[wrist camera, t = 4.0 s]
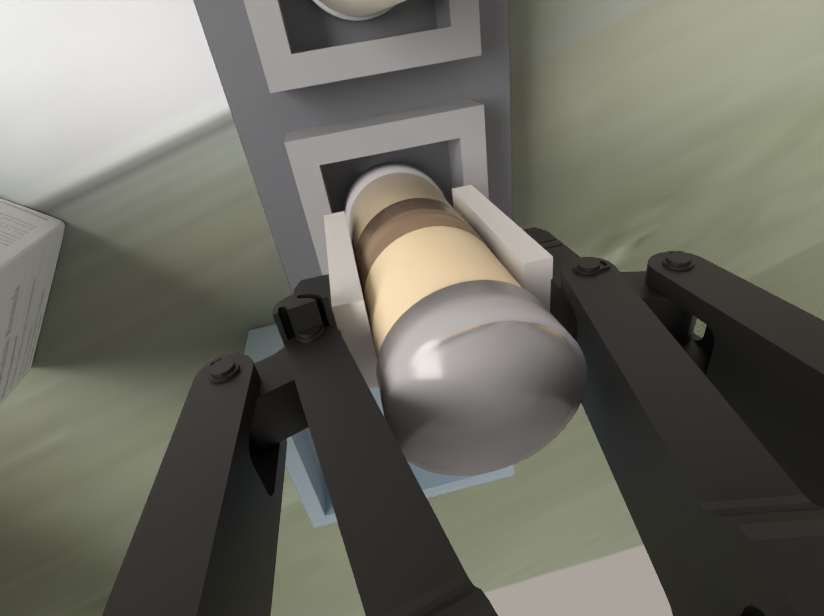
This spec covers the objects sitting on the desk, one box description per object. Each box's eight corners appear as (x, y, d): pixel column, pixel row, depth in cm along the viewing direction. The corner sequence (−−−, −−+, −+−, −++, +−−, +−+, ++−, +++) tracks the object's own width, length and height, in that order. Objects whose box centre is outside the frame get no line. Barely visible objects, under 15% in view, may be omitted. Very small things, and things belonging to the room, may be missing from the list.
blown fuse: (355, 265, 20) (403, 496, 10) (333, 172, 18) (365, 346, 8) (445, 245, 20) (580, 447, 10) (435, 152, 18) (594, 292, 8)
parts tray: (313, 484, 32) (313, 528, 29) (248, 330, 25) (240, 369, 22) (496, 437, 34) (514, 475, 31) (486, 276, 26) (509, 306, 23)
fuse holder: (300, 286, 24) (288, 554, 12) (148, -186, 15) (-933, -1687, 2) (493, 244, 25) (676, 449, 12) (471, -226, 15) (1172, -1394, 3)
